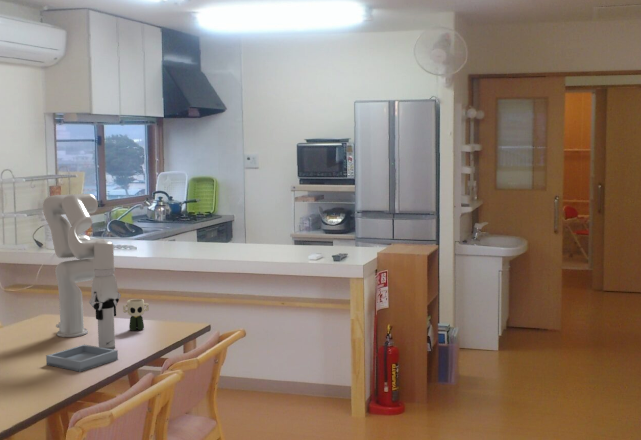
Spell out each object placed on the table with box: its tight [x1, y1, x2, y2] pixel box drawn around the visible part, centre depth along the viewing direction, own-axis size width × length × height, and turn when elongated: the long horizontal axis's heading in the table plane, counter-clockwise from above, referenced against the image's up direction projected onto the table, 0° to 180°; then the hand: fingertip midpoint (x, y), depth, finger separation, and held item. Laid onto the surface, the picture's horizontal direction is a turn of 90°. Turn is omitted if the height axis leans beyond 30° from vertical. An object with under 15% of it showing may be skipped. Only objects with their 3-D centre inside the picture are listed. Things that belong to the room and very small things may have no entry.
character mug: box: [122, 298, 150, 331], centre depth 336 cm, size 11×7×13 cm, turn 106°
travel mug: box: [97, 299, 116, 350], centre depth 305 cm, size 6×7×20 cm
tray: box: [45, 343, 119, 373], centre depth 287 cm, size 18×18×4 cm
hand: (106, 317), depth 305 cm, fingers closed on travel mug, 6 cm apart
